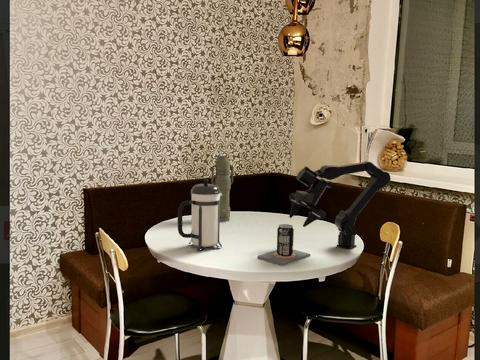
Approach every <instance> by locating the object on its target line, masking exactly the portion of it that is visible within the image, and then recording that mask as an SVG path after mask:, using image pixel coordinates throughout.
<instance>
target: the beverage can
mask: <svg viewBox="0 0 480 360" xmlns="http://www.w3.org/2000/svg"><path fill="white" fill-rule="evenodd" d="M293 227H294V226H293V225H292V224H288V223H284V224H279V225H278V228H277V232H276V233H277V234H276V235H277V237H276V250H277V253H278V255H280V256H291V255H292V254H293V249H294V236H295V235H294V232H295V230H294V228H293Z"/></svg>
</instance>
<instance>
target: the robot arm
mask: <svg viewBox="0 0 480 360" xmlns="http://www.w3.org/2000/svg"><path fill="white" fill-rule="evenodd" d="M363 172H366V173H367V175H368V176H370V177H369V178H368V184H367V185H366V187H365V188H364V189H363V190H362V192H361V193H360V194H359V195H358V197H357V198H356V199H355V200H354V202H352V204H351V205H350V206H349V208H348V209H346V210H343V209H341V210H340V211H339V213H338V214H337V215H336V216H335V219H334V225H335V227H336V228H337V230H338V232H339V234H338V237H337V244H336V247H339V248H343V249H346V250H347V249H348V250H351V249H354V248H356V247H357V245H356V244H355V242H356V236H357V234H358V229H357V228H355V226H354V225H355V223H356V220H357V216H358V215H359V214H360V213H361V211H362V210H363V209H364V208H365V207H366V205H367V204H368V203H369V202H370V201H371V199H372V198H373V196H374V195H376V193H377V192H378V191H380V190H381V189H384V188H385V187H386V186H387V185H389V183H390V182H391V174H390V173H389V172H387V171H384V170H382V169H381V168H379V167H378V166H377V165H375V164H374V163H373V162H372V161H367V160H364V161H361V162H356V163H355V162H354V163H349V164H344V165H343V164H342V165H333V164H332V165H330V164H329V165H328V164H325V165H322V166H321V167H320V169H316V170H314V171H313V170H312V169H310V167H308V166H304V167H303V168H301V169H300V171H299V172H298V173H297V175H296V180H297V181H299V182H301V183H302V184H303V185H305V186H306V187H309V186H310V188H309V189H308V188H307V189H306V190H305V191H303V190H302V191H301V190H296V191H295V192H292V193H290V195H289V197H288V198H289V201H290V203H291V206H290V207H291V208H290V212H289V215H288V217H289V218H290V219H292V218H293V217H294V216H295V215H296V213H297V212H298V211H299V210H300V208H302V206H304V207H306V208H307V209H308V210H309V211H308V216H307V217H306V219H305V220H304V222H303V224H302V227H303V228H305V227H307V226H309V225H310V224H312V223H313V222H315V221H317V220H321V219H323V220H324V219H325V217H326V215H327V214H326V211H324V210H322V209H321V208H320V207H319V206H317V203H318V202H319V200H320V201H321V200H323V199H322V197H321V196H322V195H323V193H324V192H325V190H326V188H329V189H332V182H331V181H333V180H335V179H338V178H340V177H342V176H344V175H349V174H355V173H363Z"/></svg>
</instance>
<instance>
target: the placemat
mask: <svg viewBox="0 0 480 360" xmlns="http://www.w3.org/2000/svg"><path fill="white" fill-rule="evenodd" d="M309 257H311V253H309V252H305V251H300V250H297V249H294V248H293V254H292V255H291V256H280V255H278V253H277V249H275V250H272V251H270V252H266V253H262V254H259V255H257V259H258V260H262V261H265V262H269V263H273V264H276V265H279V266H282V267H283V266H284V267H285V266H286V265H289V264H292V263H294V262H295V263H296V262H298V261H300V260H304V259H306V258H309Z"/></svg>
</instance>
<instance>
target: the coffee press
mask: <svg viewBox="0 0 480 360" xmlns="http://www.w3.org/2000/svg"><path fill="white" fill-rule="evenodd" d="M202 182H203V183H198V184H194V186H192V188H191V190H190V195H191V199H190V200H184V201H182V202H181V203H180V204H179V206H178V208H177V231H178V234H179V235H180V237H182V238H185V239H190V241H189V243H188V245H189V244H192V245H191V246H193V245H194V246H196V247H197V251H198V250H200V249H202V250H203V248H205V247H206V248H207V247H213V246H215V247H217V248H218V247H221V248H222V247H223V245H222V244H221V242H220V225H221V222H220V196H222V193H221V190H220V189H219V187H218V186H216V185H214V184H212V183H209V179H208V178H204V179H203V180H202ZM188 205H191V232H190V233H184V231H183V210H184V208H185V207H186V206H188Z"/></svg>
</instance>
